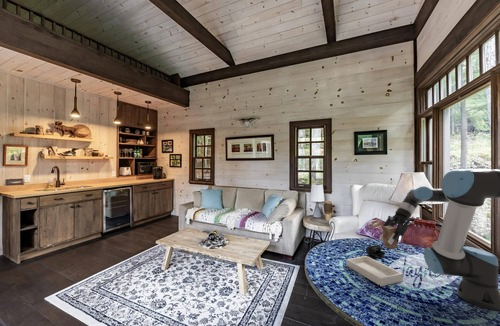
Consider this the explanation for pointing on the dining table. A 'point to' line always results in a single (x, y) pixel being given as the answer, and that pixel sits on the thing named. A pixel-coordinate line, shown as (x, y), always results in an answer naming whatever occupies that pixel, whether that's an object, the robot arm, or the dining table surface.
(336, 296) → the dining table surface
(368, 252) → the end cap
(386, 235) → the walnut block
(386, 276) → the sorting tray
